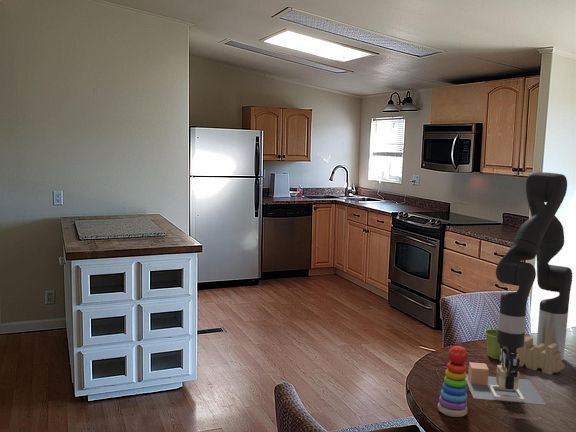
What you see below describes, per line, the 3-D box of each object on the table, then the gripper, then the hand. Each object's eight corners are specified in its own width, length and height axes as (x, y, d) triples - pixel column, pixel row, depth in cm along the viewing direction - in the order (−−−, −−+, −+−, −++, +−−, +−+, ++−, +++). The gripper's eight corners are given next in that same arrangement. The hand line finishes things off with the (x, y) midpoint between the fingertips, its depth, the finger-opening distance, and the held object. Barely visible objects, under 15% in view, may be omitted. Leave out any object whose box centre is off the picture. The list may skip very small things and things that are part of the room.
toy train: (557, 380, 179) (560, 350, 178) (505, 364, 191) (508, 336, 190) (563, 375, 183) (566, 346, 182) (512, 360, 195) (515, 333, 194)
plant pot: (513, 355, 200) (515, 332, 199) (507, 363, 192) (509, 339, 191) (486, 350, 204) (487, 327, 204) (480, 357, 197) (481, 334, 196)
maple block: (495, 381, 166) (497, 365, 166) (513, 382, 165) (514, 366, 165) (499, 387, 161) (501, 371, 161) (517, 389, 161) (519, 372, 160)
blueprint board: (463, 377, 179) (463, 371, 178) (528, 382, 176) (529, 376, 175) (473, 401, 161) (473, 394, 161) (546, 408, 158) (546, 401, 158)
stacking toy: (451, 420, 149) (456, 353, 147) (431, 408, 156) (435, 343, 154) (473, 415, 152) (478, 349, 150) (452, 403, 159) (456, 339, 157)
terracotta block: (467, 377, 176) (469, 362, 175) (484, 378, 175) (485, 363, 175) (470, 383, 171) (471, 368, 170) (487, 385, 170) (488, 369, 170)
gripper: (531, 337, 154) (526, 396, 156) (518, 322, 168) (513, 376, 170) (503, 335, 155) (498, 393, 157) (492, 320, 169) (488, 374, 171)
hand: (506, 384), depth 163 cm, fingers closed on maple block, 5 cm apart
